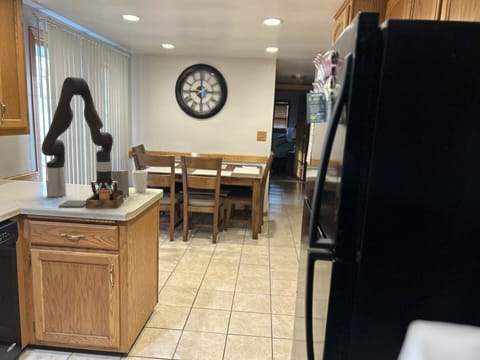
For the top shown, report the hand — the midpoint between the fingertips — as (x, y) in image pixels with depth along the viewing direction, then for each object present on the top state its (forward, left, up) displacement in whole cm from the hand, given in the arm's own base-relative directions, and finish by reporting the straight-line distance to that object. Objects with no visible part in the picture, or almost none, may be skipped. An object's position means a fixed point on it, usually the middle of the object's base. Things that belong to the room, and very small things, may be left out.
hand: (105, 200), depth 187 cm
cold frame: (0, 0, -3) cm, 3 cm away
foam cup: (+12, +36, -3) cm, 38 cm away
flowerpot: (0, 0, -2) cm, 2 cm away
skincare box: (+3, +22, -3) cm, 22 cm away
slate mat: (-16, 0, -3) cm, 16 cm away
